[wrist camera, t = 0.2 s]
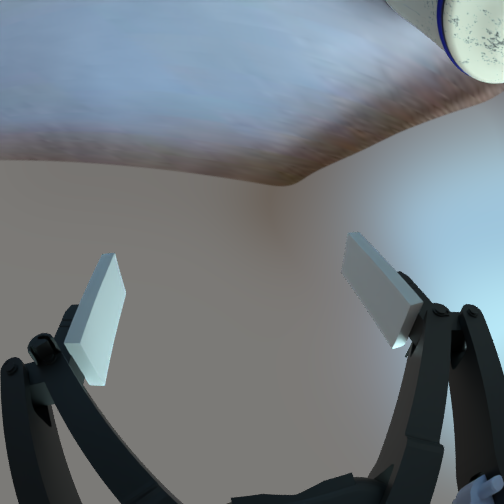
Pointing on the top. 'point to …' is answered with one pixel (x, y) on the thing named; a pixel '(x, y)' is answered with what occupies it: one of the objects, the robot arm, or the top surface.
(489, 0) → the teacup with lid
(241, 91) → the top surface
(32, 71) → the top surface
